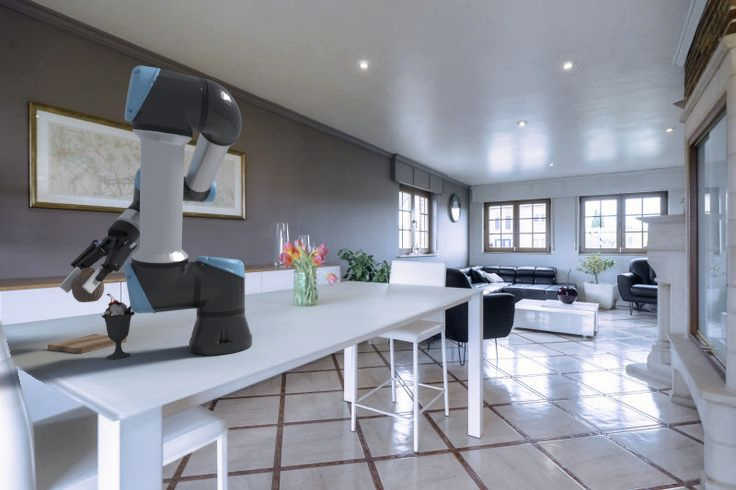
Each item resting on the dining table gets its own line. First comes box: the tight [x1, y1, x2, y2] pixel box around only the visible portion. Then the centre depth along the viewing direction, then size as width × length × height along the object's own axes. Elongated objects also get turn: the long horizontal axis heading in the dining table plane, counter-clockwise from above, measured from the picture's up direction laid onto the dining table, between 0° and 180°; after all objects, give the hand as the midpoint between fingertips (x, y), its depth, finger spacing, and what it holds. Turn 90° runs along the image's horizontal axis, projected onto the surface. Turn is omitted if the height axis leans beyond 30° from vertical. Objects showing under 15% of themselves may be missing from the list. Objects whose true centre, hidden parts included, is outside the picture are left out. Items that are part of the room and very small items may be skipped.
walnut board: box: [47, 333, 128, 354], centre depth 101 cm, size 12×12×1 cm
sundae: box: [101, 293, 136, 360], centre depth 91 cm, size 7×7×15 cm
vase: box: [71, 267, 105, 303], centre depth 101 cm, size 7×7×9 cm
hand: (75, 289), depth 97 cm, fingers closed on vase, 7 cm apart
